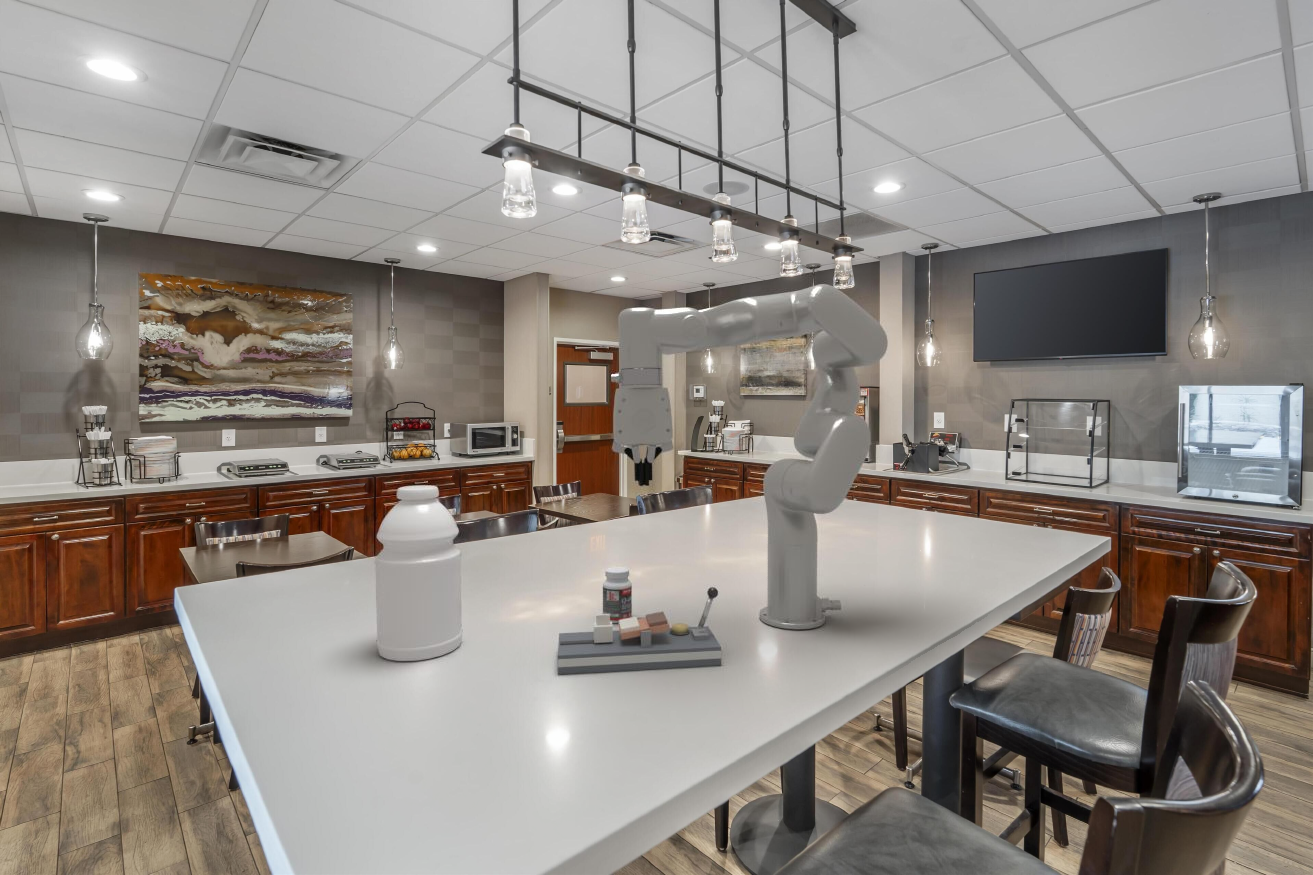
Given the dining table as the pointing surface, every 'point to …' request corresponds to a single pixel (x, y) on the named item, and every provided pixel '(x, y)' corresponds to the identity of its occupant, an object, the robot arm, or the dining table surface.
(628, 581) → the pill bottle
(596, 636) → the slider
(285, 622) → the dining table surface
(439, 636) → the bottle
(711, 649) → the console
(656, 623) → the rocker
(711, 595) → the lever
